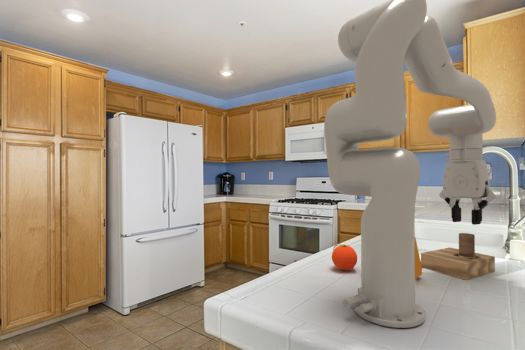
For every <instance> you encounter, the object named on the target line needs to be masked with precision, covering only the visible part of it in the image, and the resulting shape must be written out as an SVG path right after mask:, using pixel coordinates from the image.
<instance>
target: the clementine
mask: <svg viewBox="0 0 525 350" xmlns="http://www.w3.org/2000/svg"><path fill="white" fill-rule="evenodd" d="M331 260H332V263H333V265H334V266H335V267H336V268H337V269H338V270H341V271H350V270H352V269H353V268H354V267H356V265H357V262H358V254H357V253H356V250H355V248H353V247H352V246H350V245H348V244H340V243H339V244H336V245H335V246H334V247H333V251H332V253H331Z"/></svg>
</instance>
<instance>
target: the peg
mask: <svg viewBox="0 0 525 350" xmlns="http://www.w3.org/2000/svg"><path fill="white" fill-rule="evenodd" d="M475 237H476V236H475V234H472V233H469V232H467V233H466V232H465V233H464V232H460V233H458V249H459V257H462V258H467V259H475V253H476V252H475V251H476V247H475V244H476V243H475V242H476V241H475V240H476V239H475Z"/></svg>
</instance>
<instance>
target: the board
mask: <svg viewBox="0 0 525 350" xmlns="http://www.w3.org/2000/svg"><path fill="white" fill-rule="evenodd" d="M495 257H496V256H494V255H493V256H492V255H489V254H484V253H479V252H475V259H467V258H462V257H459V248H454V247H446V248H441V249H436V250H435V249H434V250H430V251H423V252H421V253H420V261H421V266H422V269H423V268H424V269H427V270H430V271H433V272H437V273H441V274H444V275H447V276H451V277H454V278H458V279H462V280H470V279H474V278H476V277H481V276H484V275H488V274H490V273H494V272H495V271H496V258H495Z"/></svg>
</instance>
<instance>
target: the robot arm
mask: <svg viewBox="0 0 525 350" xmlns="http://www.w3.org/2000/svg"><path fill="white" fill-rule="evenodd" d="M427 12H428V6H427V0H386V1H384V2H382V3H379V4H377V5H376V6H374V7H372V8H371V9H369V10H367V11H365V12H363V13H361V14H359V15H357V16H355V17H353V18H351V19H350V20H349V19H348V21H346V22H345V23H344V24H343V25H342V26H341V28H340V30H339V33H338V36H337V37H338V38H337V39H338V40H337V42H338V47H339V49H340V51H341V53H342V55H343V56H344V57H345V58H347V59H348V60H349V61H352V63H355V70H354V75H355V77H354V78H355V79H354V80H355V94H354V96H352V97H346V98H344V99H340V100H337V101H336V102H334V103H333V104H332V105H331V106H330V107H329V108H328V110H327V112H326V114H325V119H324V125H323V126H324V128H323V129H324V132H323V133H324V142H325V150H326V151H325V152H326V160H327V161H326V162H327V163H326V164H327V171H328V176H329V181H330V184H331V186H332V187H333V189H334V190H335V191H336V192H338V193H339V194H342V195H346V196H356V197H357V196H360V197H369V198H370V197H371V199H370V201H369V202H368V203H367V205H366V207H365V208H364V210H363V213H362V215H361V218H360V252H361V255H360V260H361V261H360V262H361V263H360V267H361V269H360V270H361V272H360V274H361V277H360V278H361V285H360V286H361V287H358V288H357V294H355V295H354V297H347V298H344V299H343V301H342V306H343V308H344V309H345V310H347V311H350V310H354V312H355V313H356V314H357V315H358V316H359V317H360V318H362V319H364V320H366V321H368V322H370V323H373V324H375V325H379V326H385V327H388V328H389V327H390V328H398V329H399V328H401V329H405V328H414V327H415V328H416V327H418V326H420V325H421V324H423V323H424V321H425V320H426V319H425V318H426V317H425V315H426V313H425V311H424V309H423V308H422V307H421V305H419V304H418V303H416V281H415V238H416V236H415V235H416V234H415V221H416V219H415V217H416V216H415V213H416V200H417V193H418V188H419V183H420V177H421V165H420V164H421V163H420V161H419V159H418V157H417V155H416V154H415V153H414V152H413V151H410V150H408V149H406V148H403V147H396V146H395V147H394V146H391V147H389V146H387V147H377V148H367V149H359V144H364V143H373V142H375V143H376V142H381V141H388V140H392V139H396V138H398V137H400V136H401V135H403V134H404V132H405V130H406V127H407V121H408V120H407V119H408V117H407V116H408V115H407V114H408V113H407V97H406V87H405V86H406V85H405V83H406V82H405V66H406V69H407V71H408V73H409V75H410V77H411V78H412V81H413V83H414V85H415V87H416V89H417V90H418V91H419V92H421V93H425V94H429V95H435V96H441V97H447V98H448V97H449V98H454V99H458V100H461V101H464V102H466V103H467V104H465V105H460V106H455V107H448V108H443V109H438V110H436V111H434V112H433V113H431V115H430V116H429V117H428V122H427V127H428V130H429V132H430V133H431V134H432V136H435V137H436V138H437V137H438V138H449V152H448V153H446V154H445V159H448V162H446V163H445V167H444V170H443V171H444V173H443V181H442V182H443V183H442V190H441V191H440V193H439V197H440V198H441V199H443V200H444V201H445V202H446V203H447V204H448V207H449V208H450V209H451V212H450V214H451V216H450V217H451V220H452V222H453V223H460V222H462V208H461V206H460V203H461V199H462V198H463V199H471V202H472V206H473V208H472V209H471V224H472V225H474V226H475V225H477V226H478V225H481V224H482V221H483V210H484V209H485V207H486V206H489V204H491V203H493V202H495V201H496V200H497V199H498V197H497V195H496V194H495V193H494V192H493V190H492V189H491V187H490V186H491V184H490V175H489V171H488V166H487V162H486V161H485V160H484V156H483V152H484V151H483V145H484V144H483V142H484V141H483V134H486V133H488V132H491V131H492V129H494V127H495V126H496V123H497V113H496V109H495V105H494V102H493V99H492V96H491V93H490V91H489V90H488V88H487V87H486V86H485V84H483V83H482V82H481V81H480V80H478V79H476V78H475V77H473V76H472V75H470V74H468V73H466V72H462V71H461V70H458V69H456V68H455V66H454V63H453V60H452V57H451V55H450V52H449V50H448V47H447V45H446V42H445V40H444V36H443V35H442V31H441V30H440V29H441V28H440V27H439V24H438V23H437V20H436V19H435V18H434V17H432V16H429V15H427ZM404 65H405V66H404ZM486 208H487V207H486Z"/></svg>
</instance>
